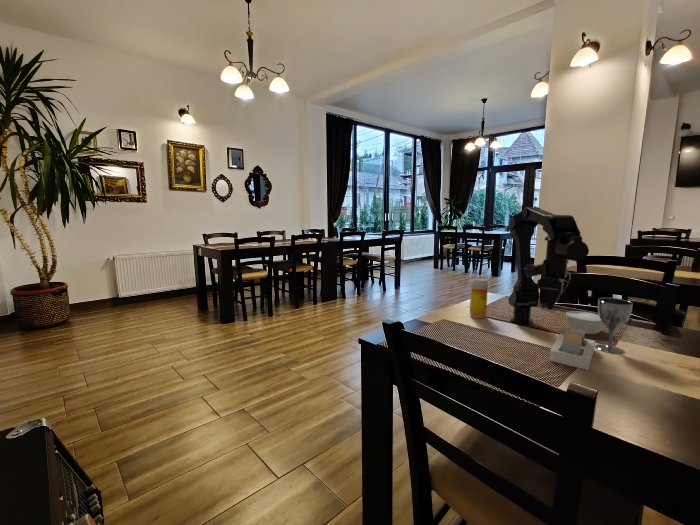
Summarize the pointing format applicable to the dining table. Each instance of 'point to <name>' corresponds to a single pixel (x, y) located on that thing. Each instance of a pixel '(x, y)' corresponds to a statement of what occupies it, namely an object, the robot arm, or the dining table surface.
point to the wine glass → (613, 319)
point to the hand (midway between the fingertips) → (552, 305)
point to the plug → (572, 343)
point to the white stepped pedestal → (573, 359)
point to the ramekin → (584, 321)
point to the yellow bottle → (478, 297)
